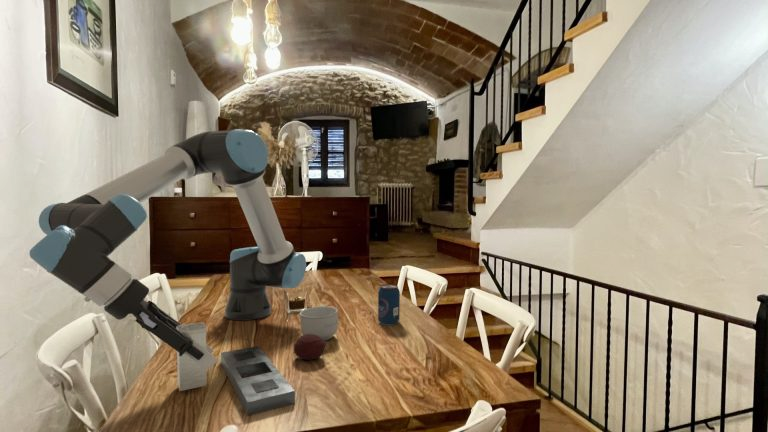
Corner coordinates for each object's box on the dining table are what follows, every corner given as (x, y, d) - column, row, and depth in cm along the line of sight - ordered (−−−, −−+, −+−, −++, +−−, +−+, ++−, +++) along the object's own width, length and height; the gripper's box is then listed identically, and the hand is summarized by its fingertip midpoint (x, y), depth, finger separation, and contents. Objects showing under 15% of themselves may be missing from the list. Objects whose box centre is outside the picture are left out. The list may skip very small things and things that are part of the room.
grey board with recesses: (220, 362, 99) (220, 352, 99) (258, 355, 104) (258, 345, 104) (247, 415, 75) (247, 401, 75) (294, 403, 80) (294, 390, 80)
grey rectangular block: (176, 381, 87) (175, 325, 86) (203, 375, 89) (203, 321, 89) (178, 391, 82) (177, 332, 82) (207, 385, 85) (207, 328, 84)
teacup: (330, 346, 111) (330, 317, 111) (293, 342, 113) (293, 314, 113) (345, 330, 125) (345, 304, 124) (312, 327, 127) (312, 302, 127)
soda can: (373, 322, 133) (373, 285, 132) (389, 318, 137) (389, 282, 137) (387, 327, 127) (388, 289, 127) (403, 323, 132) (404, 286, 132)
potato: (302, 367, 97) (302, 342, 97) (288, 356, 104) (288, 333, 103) (329, 360, 101) (329, 336, 101) (314, 350, 108) (314, 327, 108)
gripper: (104, 297, 85) (192, 360, 94) (97, 320, 69) (203, 392, 79) (134, 270, 87) (216, 333, 97) (134, 286, 72) (232, 359, 81)
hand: (210, 359), depth 88 cm, fingers closed on grey rectangular block, 5 cm apart
